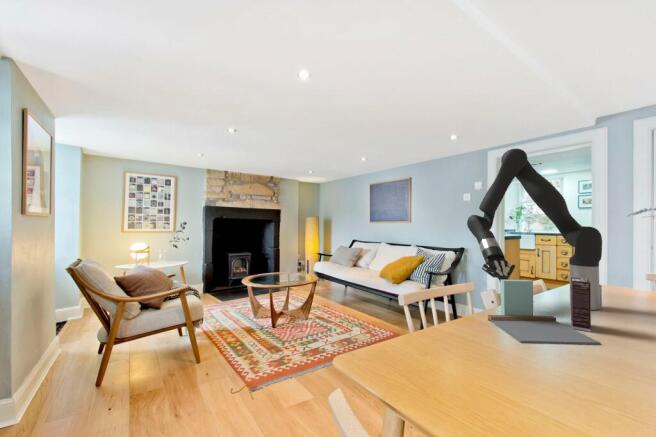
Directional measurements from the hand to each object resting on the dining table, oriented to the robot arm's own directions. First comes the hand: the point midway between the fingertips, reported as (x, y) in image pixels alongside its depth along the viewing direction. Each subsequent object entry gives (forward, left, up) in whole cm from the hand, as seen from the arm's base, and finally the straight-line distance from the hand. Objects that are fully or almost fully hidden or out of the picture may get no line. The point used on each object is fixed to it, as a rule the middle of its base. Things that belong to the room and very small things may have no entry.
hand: (506, 285), depth 113 cm
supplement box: (-14, +16, -11) cm, 24 cm away
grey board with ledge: (+3, +18, -11) cm, 21 cm away
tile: (+1, +6, -11) cm, 12 cm away
